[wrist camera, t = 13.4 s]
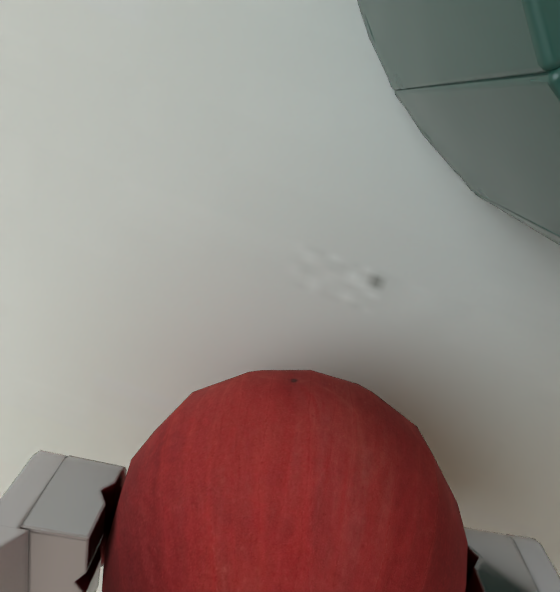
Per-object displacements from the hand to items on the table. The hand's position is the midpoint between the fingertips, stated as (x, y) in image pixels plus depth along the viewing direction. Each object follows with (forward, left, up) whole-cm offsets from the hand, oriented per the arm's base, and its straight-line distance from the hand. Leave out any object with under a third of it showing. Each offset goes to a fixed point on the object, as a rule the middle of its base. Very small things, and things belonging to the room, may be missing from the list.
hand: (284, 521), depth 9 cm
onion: (0, 0, -4) cm, 4 cm away
